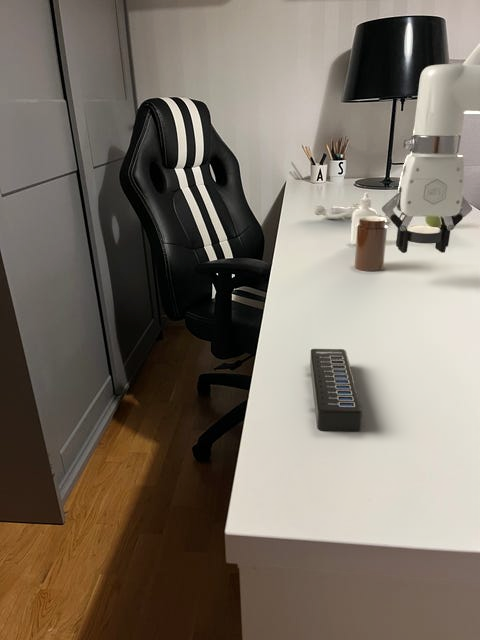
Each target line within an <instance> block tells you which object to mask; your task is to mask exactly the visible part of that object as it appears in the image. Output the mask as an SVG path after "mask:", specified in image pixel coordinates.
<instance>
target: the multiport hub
mask: <svg viewBox="0 0 480 640" xmlns="http://www.w3.org/2000/svg"><path fill="white" fill-rule="evenodd" d="M309 357H310V360H309V368H310V376H311V377H310V378H311V385H312V394H313V403H314V404H313V405H314V412H315V420H316V422H315V423H316V429H317V430H318V431H321V432H322V431H324V432H356V433H357V432H361V427H362V416H363V415H362V413H363V410H362V406H361V402H360V398H359V395H358V391H357V387H356V382H355V379H354V375H353V372H352V368H351V363H350V361H349V357H348V354H347V350H346V349H343V348H311V349H310V356H309Z"/></svg>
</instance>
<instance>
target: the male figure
mask: <svg viewBox="0 0 480 640" xmlns="http://www.w3.org/2000/svg"><path fill="white" fill-rule="evenodd" d="M357 209H360V204H359V203H356V204H354V203H353V204H352V205H350V206H346V207H341V206H330V207H329V208H328V209H326V208H325V206H322V205H316V206H315V207H314V209H313V213H314V214H315V215H316V216H320V215H321V216H325V217H326V219H327V220H339V219H342V218H343V219H346V220H352V214H353V212H354V211H355V210H357ZM377 217H383V218H385V219H386V223H387V224H390V223H391V220H390V219H389V217H388V216H387V215H386V214H379V213H377Z"/></svg>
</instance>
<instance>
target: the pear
mask: <svg viewBox="0 0 480 640" xmlns="http://www.w3.org/2000/svg"><path fill="white" fill-rule="evenodd" d="M424 217H425V218H424V219H425V222H426V225H427V226H430V227H436V228H439V227H441V221H440V218H439V216H424Z"/></svg>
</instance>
